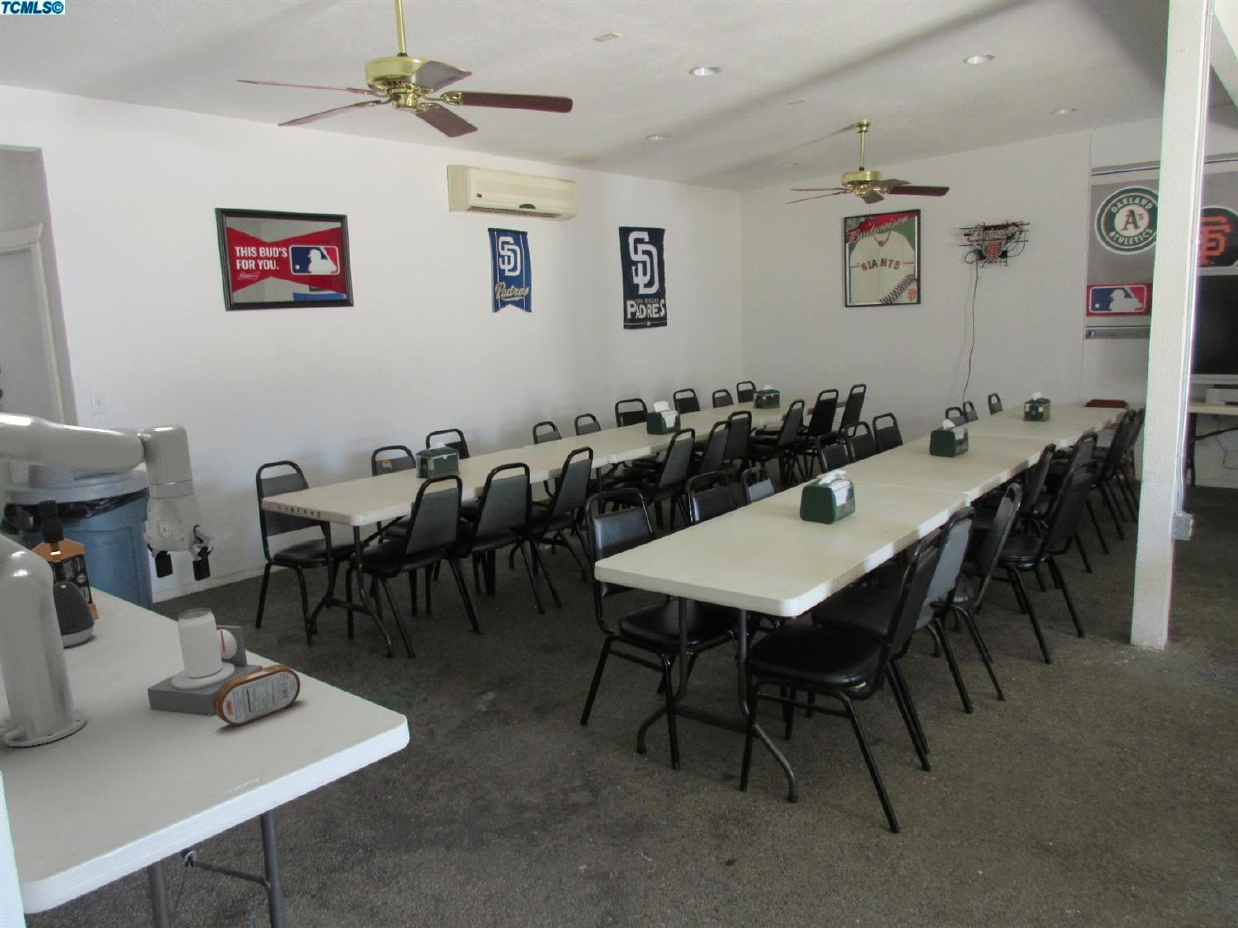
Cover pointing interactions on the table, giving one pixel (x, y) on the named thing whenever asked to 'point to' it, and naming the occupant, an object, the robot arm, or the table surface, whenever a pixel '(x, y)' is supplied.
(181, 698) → the scale
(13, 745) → the robot arm
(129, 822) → the table surface
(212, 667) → the can
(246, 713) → the tin
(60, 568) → the whiskey bottle
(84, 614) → the pump dispenser
